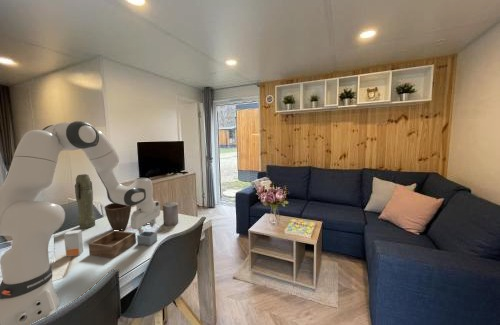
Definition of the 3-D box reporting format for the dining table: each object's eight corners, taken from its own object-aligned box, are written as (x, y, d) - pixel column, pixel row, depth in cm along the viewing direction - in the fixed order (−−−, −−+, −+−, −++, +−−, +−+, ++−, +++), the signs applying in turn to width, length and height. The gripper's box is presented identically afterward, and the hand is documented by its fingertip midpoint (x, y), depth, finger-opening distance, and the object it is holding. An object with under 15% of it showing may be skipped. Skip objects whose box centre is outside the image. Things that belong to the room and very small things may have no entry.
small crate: (150, 245, 121) (149, 237, 120) (137, 244, 122) (137, 235, 122) (157, 240, 126) (156, 232, 126) (145, 239, 128) (144, 231, 128)
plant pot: (137, 224, 149) (136, 202, 147) (123, 234, 135) (121, 209, 133) (117, 223, 151) (115, 201, 149) (100, 233, 136) (98, 208, 134)
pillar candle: (162, 221, 154) (161, 201, 152) (177, 219, 159) (176, 199, 157) (164, 227, 146) (163, 205, 144) (179, 224, 150) (178, 203, 148)
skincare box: (65, 257, 109) (63, 234, 108) (70, 252, 114) (67, 230, 112) (80, 255, 111) (77, 232, 110) (83, 251, 115) (81, 229, 114)
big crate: (112, 258, 108) (111, 246, 108) (89, 254, 111) (88, 243, 111) (136, 242, 124) (135, 232, 123) (115, 240, 127) (114, 230, 126)
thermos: (100, 222, 153) (95, 173, 149) (88, 229, 142) (83, 176, 137) (87, 222, 153) (82, 173, 149) (74, 230, 141) (68, 176, 137)
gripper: (136, 213, 111) (138, 238, 113) (161, 201, 131) (162, 223, 133) (126, 212, 113) (128, 237, 115) (152, 200, 133) (153, 222, 134)
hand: (147, 229), depth 124 cm, fingers open, 8 cm apart
